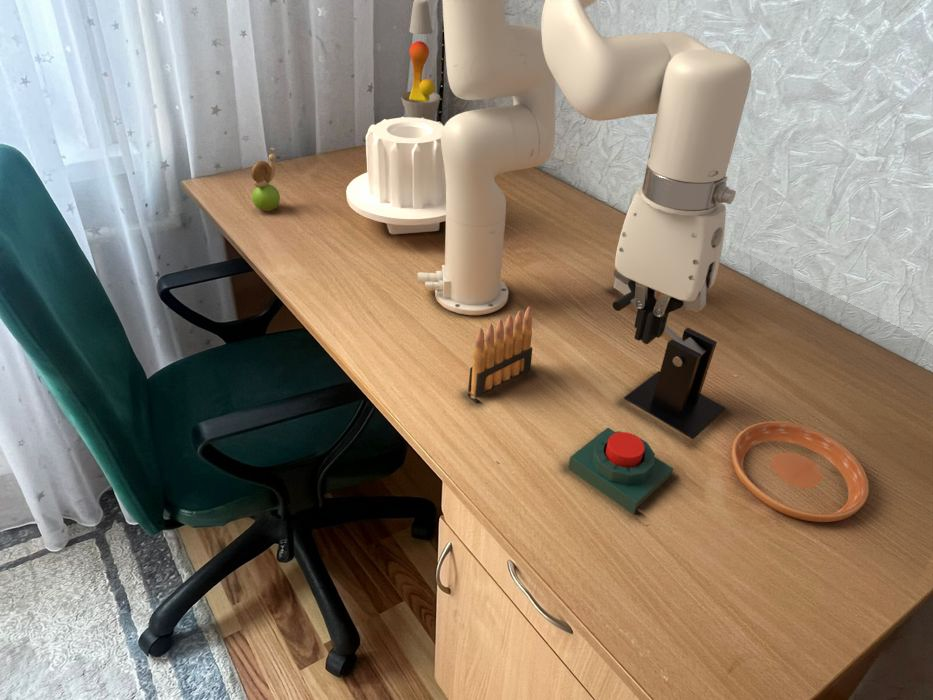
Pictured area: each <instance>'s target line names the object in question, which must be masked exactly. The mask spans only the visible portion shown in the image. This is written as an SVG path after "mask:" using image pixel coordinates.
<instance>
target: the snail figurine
mask: <svg viewBox="0 0 933 700" xmlns="http://www.w3.org/2000/svg"><path fill="white" fill-rule="evenodd" d="M269 150H270V151H271V152H273V153H270V154H269V155H268V161H269V162H267V161H264V160H258V161H257V162H255V163H254V164H253V165H252V167H251V178H252V179H253V181H254V183H253V185H254V186H255V187H254V189H253V191H252V195H251V199H252V202H253V204H254V206H255V207H256V208H257V209H259V210H261V211H264V212H269V211H273V210H275V209H276V208H278V206H279V204H280V201H281V195H280V192H279V190H278V189H277V188H276V187H275V186H274V185H272V184H270V183H271V182H272V181H273V179H274V177H275V172H276V155H275V151H276V148H274V147H269Z"/></svg>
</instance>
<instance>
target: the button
mask: <svg viewBox="0 0 933 700" xmlns="http://www.w3.org/2000/svg"><path fill="white" fill-rule="evenodd" d="M635 435H636V434H634V435H633V433H630V432H625V431H620V432H618V433H615V434H613V435H611V436H610V437H609V439H608V443H607V448H606V456H607V458H608V459H609V460H610V461H611V462H612V463H614V464H615V465H617V466H621V467H626V468H631V467H635V466H637V465H638V464H639V463H640V462H641V460H642V456H643V453H644V444H643V442H642V441H641V439H642V438H641V439H639V438H640V437H639V436H638V437H639V438H638V437H637V435H636V436H635Z"/></svg>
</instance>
